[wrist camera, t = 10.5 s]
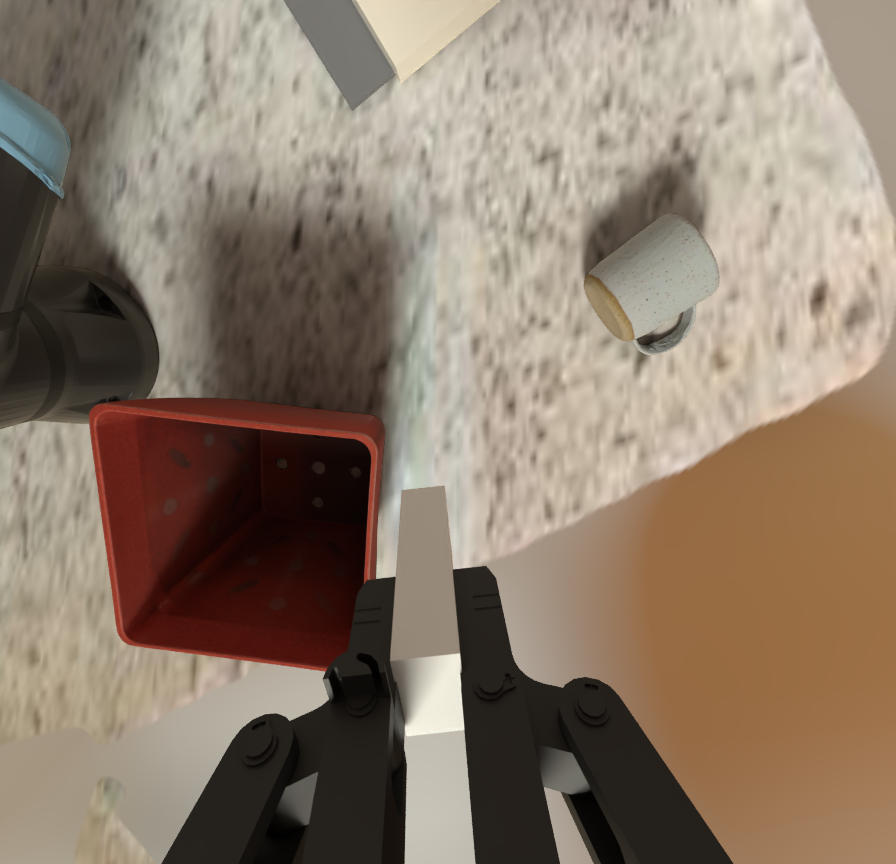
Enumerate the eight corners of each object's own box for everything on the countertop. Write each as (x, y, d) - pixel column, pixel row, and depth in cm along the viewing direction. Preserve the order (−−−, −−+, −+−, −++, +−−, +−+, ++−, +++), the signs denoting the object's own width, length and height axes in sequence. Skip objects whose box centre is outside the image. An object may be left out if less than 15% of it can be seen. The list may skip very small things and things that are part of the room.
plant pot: (232, 536, 49) (114, 647, 33) (226, 368, 44) (83, 401, 28) (399, 556, 49) (364, 678, 33) (413, 389, 44) (379, 435, 27)
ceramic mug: (569, 280, 40) (592, 274, 33) (648, 220, 38) (691, 200, 31) (629, 371, 42) (664, 386, 35) (706, 318, 41) (759, 322, 33)
